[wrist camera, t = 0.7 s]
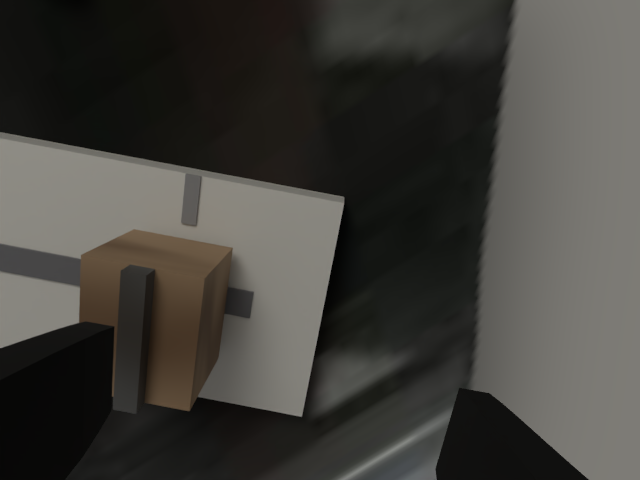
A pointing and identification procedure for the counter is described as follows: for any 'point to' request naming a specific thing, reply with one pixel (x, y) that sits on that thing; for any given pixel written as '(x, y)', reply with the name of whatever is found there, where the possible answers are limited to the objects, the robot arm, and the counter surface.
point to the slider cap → (157, 314)
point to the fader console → (178, 221)
